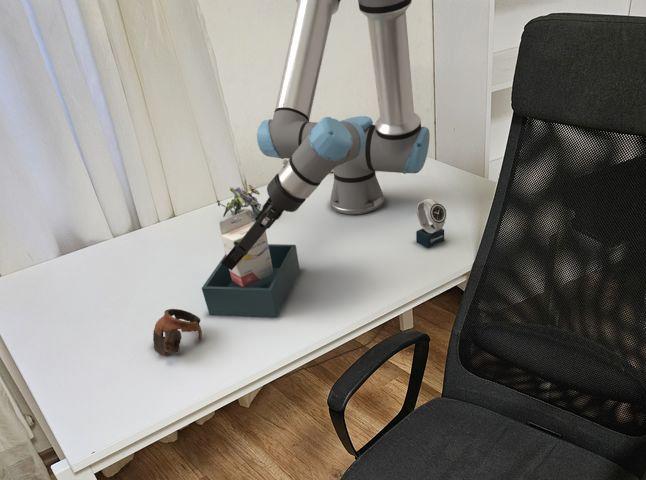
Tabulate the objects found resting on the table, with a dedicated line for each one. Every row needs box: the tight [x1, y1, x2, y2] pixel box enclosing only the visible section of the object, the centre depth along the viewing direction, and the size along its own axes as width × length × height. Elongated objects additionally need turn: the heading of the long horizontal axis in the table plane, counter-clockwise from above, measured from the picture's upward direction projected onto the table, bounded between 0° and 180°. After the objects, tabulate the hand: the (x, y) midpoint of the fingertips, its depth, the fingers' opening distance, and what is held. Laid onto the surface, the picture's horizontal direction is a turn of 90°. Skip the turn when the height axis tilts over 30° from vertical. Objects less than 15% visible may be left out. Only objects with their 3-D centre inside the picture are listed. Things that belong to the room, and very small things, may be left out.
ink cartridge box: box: [218, 209, 274, 288], centre depth 129 cm, size 9×5×15 cm, turn 134°
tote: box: [201, 243, 301, 318], centre depth 133 cm, size 20×16×7 cm
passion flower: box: [216, 184, 262, 218], centre depth 164 cm, size 11×11×12 cm
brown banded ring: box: [152, 308, 203, 357], centre depth 120 cm, size 12×10×8 cm
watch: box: [415, 198, 447, 249], centre depth 145 cm, size 6×8×11 cm
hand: (234, 254), depth 130 cm, fingers closed on ink cartridge box, 9 cm apart
